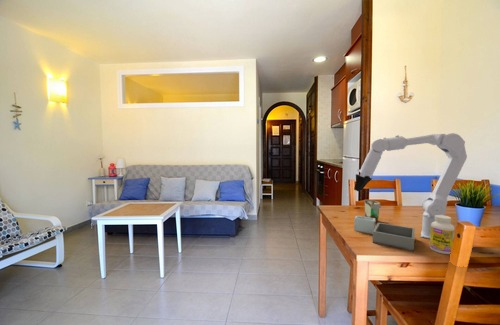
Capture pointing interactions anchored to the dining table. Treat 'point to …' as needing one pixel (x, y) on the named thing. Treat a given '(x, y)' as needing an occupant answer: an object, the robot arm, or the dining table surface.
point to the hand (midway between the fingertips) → (358, 189)
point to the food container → (372, 209)
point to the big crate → (394, 236)
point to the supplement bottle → (441, 234)
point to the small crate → (364, 224)
